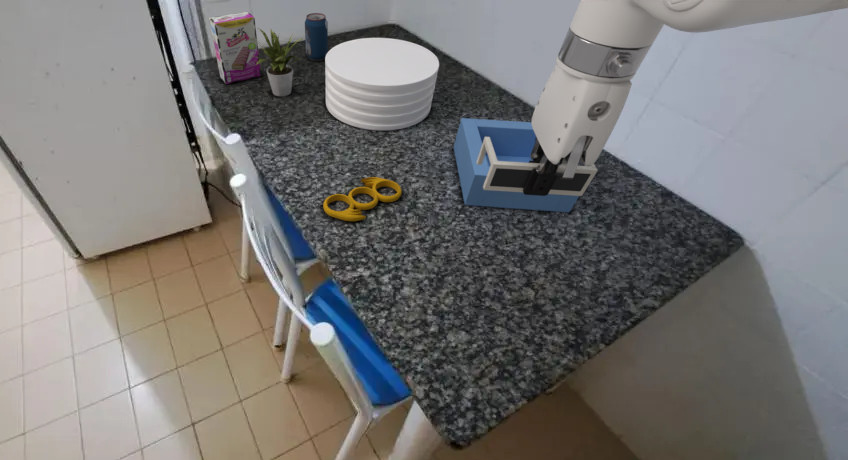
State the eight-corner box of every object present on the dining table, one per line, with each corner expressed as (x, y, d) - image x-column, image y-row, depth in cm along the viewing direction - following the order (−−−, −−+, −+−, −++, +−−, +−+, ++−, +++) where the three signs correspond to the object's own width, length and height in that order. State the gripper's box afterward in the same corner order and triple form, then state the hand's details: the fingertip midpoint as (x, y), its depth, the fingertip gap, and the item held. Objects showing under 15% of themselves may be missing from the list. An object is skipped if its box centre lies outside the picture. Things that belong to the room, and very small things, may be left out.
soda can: (331, 54, 126) (331, 14, 117) (322, 63, 121) (321, 21, 113) (311, 51, 127) (310, 11, 119) (302, 59, 123) (300, 18, 114)
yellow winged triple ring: (314, 197, 78) (335, 229, 72) (314, 191, 77) (335, 223, 70) (386, 176, 83) (412, 205, 77) (387, 170, 82) (413, 199, 75)
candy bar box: (226, 85, 110) (213, 23, 98) (220, 78, 113) (207, 17, 101) (262, 76, 114) (254, 15, 103) (255, 70, 117) (247, 10, 106)
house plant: (241, 92, 108) (230, 29, 96) (277, 75, 115) (271, 15, 103) (277, 109, 102) (270, 44, 90) (313, 90, 109) (310, 27, 97)
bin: (541, 152, 89) (555, 123, 84) (569, 212, 75) (587, 182, 70) (453, 147, 90) (461, 117, 85) (464, 205, 77) (474, 174, 71)
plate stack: (452, 114, 100) (463, 70, 92) (357, 141, 91) (360, 95, 83) (393, 71, 118) (397, 31, 109) (308, 90, 109) (306, 48, 100)
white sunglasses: (581, 196, 53) (598, 170, 50) (483, 190, 53) (493, 164, 50) (566, 167, 57) (580, 141, 54) (476, 162, 58) (484, 136, 55)
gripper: (677, 90, 34) (580, 232, 48) (608, 27, 45) (544, 158, 58) (590, 86, 35) (518, 228, 48) (542, 24, 45) (493, 155, 59)
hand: (532, 189), depth 53 cm, fingers closed on white sunglasses, 1 cm apart
